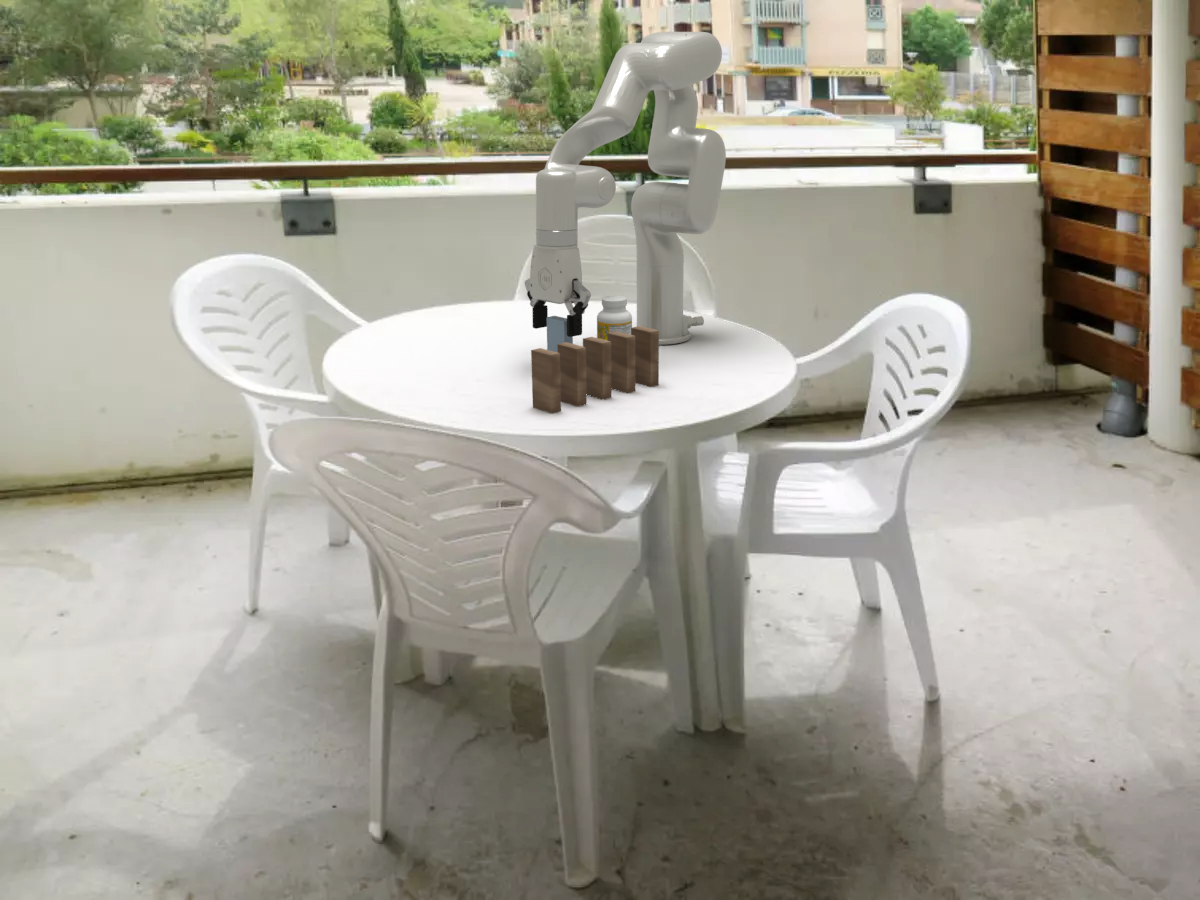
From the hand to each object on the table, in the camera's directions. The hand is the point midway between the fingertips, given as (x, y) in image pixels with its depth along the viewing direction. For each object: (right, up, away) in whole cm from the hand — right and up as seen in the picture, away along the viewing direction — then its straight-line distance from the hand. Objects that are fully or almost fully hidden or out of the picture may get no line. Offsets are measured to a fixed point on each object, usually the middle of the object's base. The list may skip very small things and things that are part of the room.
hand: (557, 331), depth 240 cm
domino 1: (-1, -15, -21) cm, 26 cm away
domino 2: (+1, -7, +3) cm, 8 cm away
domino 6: (+16, -10, -6) cm, 20 cm away
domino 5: (+12, -11, -10) cm, 19 cm away
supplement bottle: (+11, -6, +7) cm, 14 cm away
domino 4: (+8, -12, -13) cm, 20 cm away
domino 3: (+3, -14, -17) cm, 22 cm away
